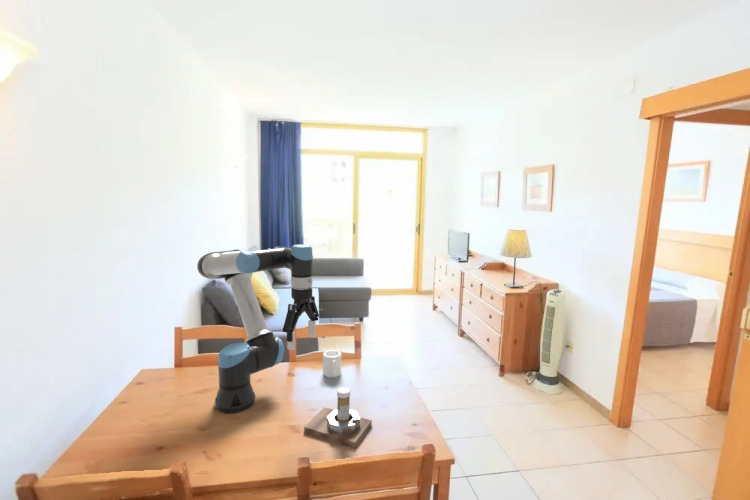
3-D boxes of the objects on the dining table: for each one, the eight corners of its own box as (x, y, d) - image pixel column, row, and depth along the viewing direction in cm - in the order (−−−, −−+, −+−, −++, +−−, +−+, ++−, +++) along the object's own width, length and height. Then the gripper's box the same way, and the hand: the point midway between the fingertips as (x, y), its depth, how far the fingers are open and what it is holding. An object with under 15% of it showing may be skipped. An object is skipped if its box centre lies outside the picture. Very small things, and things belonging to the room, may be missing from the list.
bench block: (304, 432, 136) (304, 426, 136) (324, 412, 149) (324, 407, 149) (354, 448, 129) (354, 442, 128) (371, 425, 141) (371, 420, 141)
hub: (322, 429, 135) (322, 419, 134) (337, 413, 145) (337, 404, 144) (350, 437, 131) (350, 427, 130) (363, 420, 141) (363, 411, 140)
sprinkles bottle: (336, 421, 140) (337, 386, 138) (349, 421, 140) (349, 386, 138) (336, 429, 135) (337, 393, 133) (349, 428, 136) (350, 393, 134)
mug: (321, 370, 184) (321, 351, 182) (339, 368, 186) (339, 349, 185) (325, 382, 172) (326, 361, 171) (344, 380, 175) (345, 359, 173)
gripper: (290, 296, 127) (290, 357, 130) (328, 281, 150) (327, 333, 153) (271, 293, 130) (272, 353, 133) (311, 279, 153) (311, 330, 156)
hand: (301, 342), depth 143 cm, fingers open, 13 cm apart
